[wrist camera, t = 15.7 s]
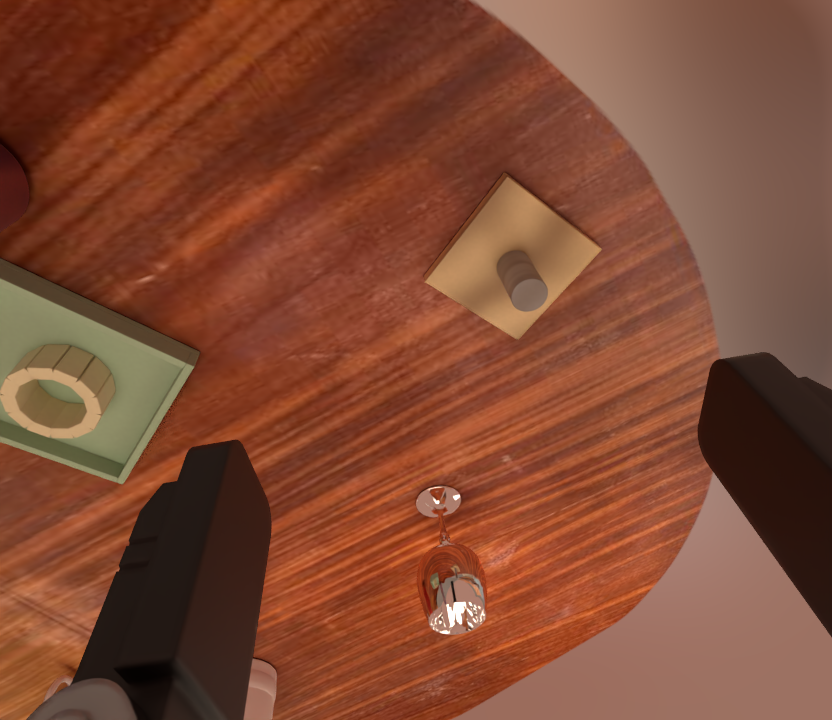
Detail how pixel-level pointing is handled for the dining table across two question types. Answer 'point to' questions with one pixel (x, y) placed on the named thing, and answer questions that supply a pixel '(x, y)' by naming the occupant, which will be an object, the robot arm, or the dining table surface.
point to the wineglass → (449, 572)
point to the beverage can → (11, 189)
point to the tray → (108, 341)
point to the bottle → (261, 691)
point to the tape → (48, 412)
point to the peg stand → (511, 258)
